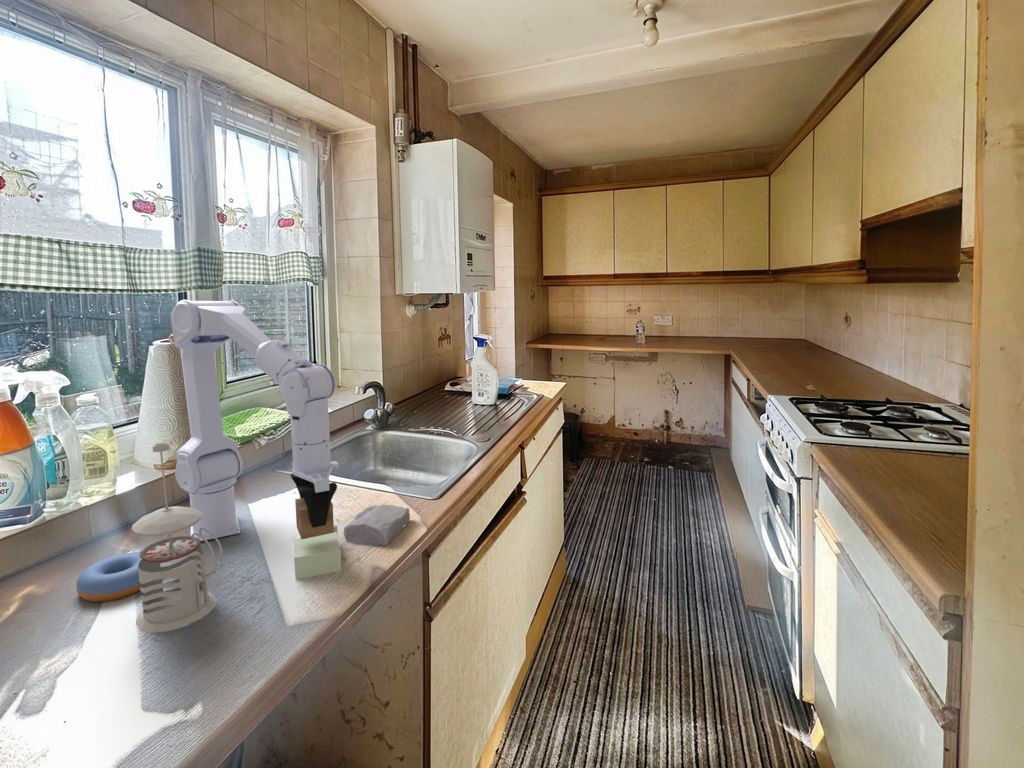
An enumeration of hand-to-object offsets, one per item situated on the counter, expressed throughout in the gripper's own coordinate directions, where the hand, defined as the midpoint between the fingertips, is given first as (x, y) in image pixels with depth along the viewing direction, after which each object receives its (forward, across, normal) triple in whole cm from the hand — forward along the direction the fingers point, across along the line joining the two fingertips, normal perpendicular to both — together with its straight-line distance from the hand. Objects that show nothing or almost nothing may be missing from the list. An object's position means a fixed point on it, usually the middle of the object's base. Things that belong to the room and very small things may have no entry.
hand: (315, 519), depth 83 cm
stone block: (+9, +8, -12) cm, 17 cm away
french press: (+8, -3, +19) cm, 21 cm away
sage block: (+8, 0, 0) cm, 8 cm away
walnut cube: (+2, 0, 0) cm, 2 cm away
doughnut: (+9, +9, +27) cm, 30 cm away
